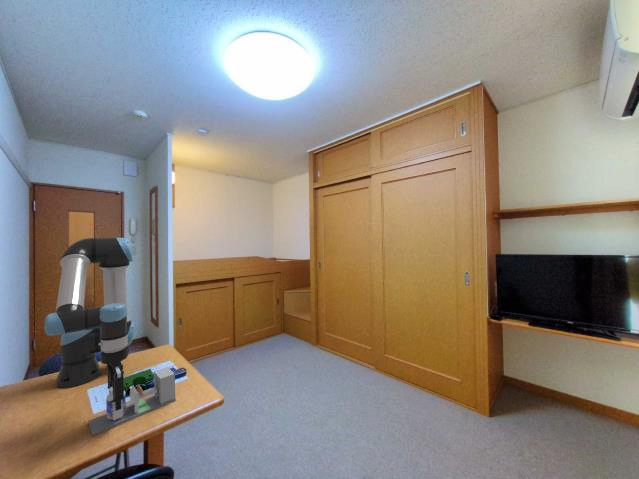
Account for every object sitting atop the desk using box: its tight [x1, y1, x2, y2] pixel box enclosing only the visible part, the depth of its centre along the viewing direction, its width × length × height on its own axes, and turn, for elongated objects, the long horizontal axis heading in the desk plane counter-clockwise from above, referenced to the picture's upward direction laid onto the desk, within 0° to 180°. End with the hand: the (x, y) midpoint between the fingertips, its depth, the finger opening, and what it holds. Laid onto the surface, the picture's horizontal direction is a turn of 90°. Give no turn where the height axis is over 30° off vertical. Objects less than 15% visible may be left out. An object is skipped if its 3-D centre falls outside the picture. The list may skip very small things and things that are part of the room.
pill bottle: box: [105, 387, 127, 419], centre depth 94 cm, size 5×5×10 cm
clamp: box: [123, 368, 154, 393], centre depth 113 cm, size 12×6×9 cm, turn 132°
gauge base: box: [88, 366, 177, 437], centre depth 98 cm, size 9×25×10 cm, turn 137°
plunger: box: [129, 385, 159, 413], centre depth 103 cm, size 7×14×7 cm, turn 137°
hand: (116, 413), depth 94 cm, fingers closed on pill bottle, 5 cm apart
